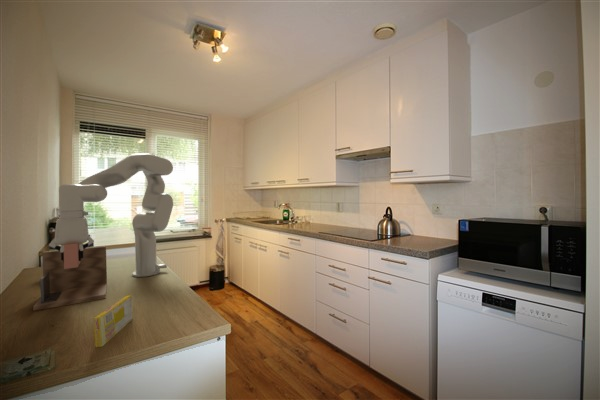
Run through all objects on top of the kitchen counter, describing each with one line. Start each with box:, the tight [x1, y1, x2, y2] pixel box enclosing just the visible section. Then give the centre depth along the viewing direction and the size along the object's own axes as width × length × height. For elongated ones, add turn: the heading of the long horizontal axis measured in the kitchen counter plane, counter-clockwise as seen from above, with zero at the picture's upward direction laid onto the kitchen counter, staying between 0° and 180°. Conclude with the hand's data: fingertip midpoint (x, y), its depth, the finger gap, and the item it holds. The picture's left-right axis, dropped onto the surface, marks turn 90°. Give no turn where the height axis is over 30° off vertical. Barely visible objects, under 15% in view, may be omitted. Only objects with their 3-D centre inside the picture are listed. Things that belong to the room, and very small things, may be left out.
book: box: [64, 243, 80, 269], centre depth 110 cm, size 4×10×9 cm, turn 33°
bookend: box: [39, 272, 62, 303], centre depth 107 cm, size 4×11×9 cm, turn 33°
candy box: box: [93, 295, 134, 348], centre depth 83 cm, size 16×2×8 cm, turn 5°
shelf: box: [32, 245, 108, 311], centre depth 111 cm, size 21×18×18 cm
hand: (72, 260), depth 110 cm, fingers closed on book, 4 cm apart
